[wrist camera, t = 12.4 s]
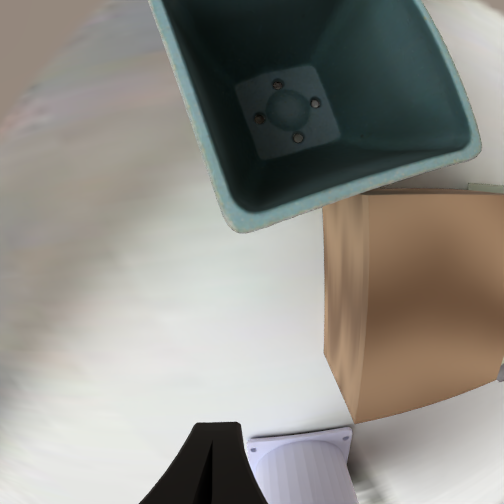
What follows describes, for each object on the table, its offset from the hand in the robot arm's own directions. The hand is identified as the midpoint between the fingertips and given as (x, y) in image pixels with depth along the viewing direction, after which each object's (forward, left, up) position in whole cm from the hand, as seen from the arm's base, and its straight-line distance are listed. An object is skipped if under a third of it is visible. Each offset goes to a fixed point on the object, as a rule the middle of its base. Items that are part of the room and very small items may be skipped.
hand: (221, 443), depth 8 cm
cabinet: (+2, -10, -10) cm, 14 cm away
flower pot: (+12, -4, -10) cm, 16 cm away
